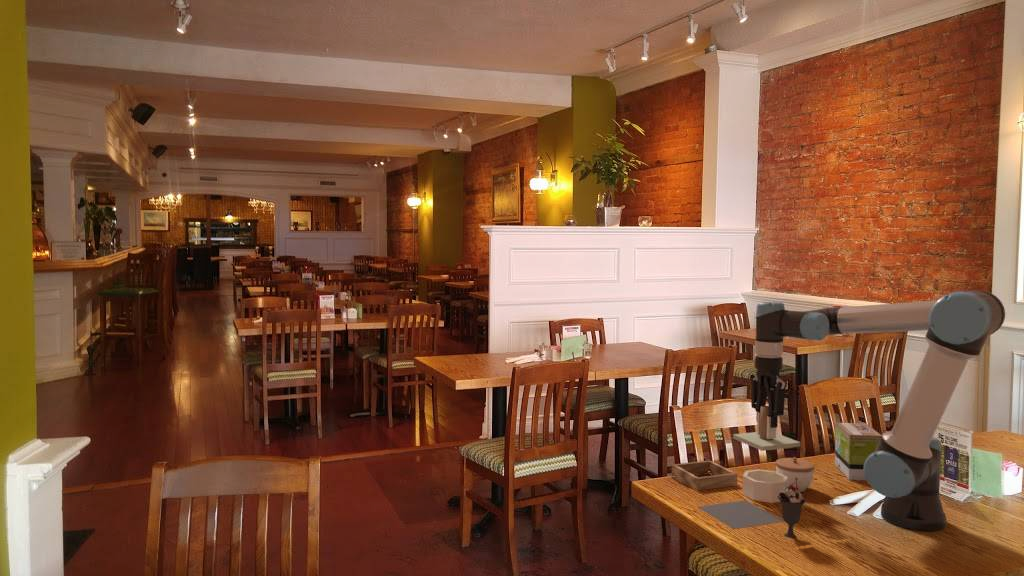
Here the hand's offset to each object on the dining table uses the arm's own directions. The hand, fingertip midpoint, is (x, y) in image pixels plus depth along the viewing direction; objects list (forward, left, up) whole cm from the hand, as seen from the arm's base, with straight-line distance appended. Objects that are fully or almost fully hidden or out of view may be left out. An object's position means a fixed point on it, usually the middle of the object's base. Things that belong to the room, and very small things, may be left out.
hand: (766, 436), depth 207 cm
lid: (0, 0, -2) cm, 2 cm away
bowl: (0, 0, -18) cm, 18 cm away
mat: (-10, +16, -18) cm, 26 cm away
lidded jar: (+3, -13, -18) cm, 22 cm away
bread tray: (+16, +9, -18) cm, 26 cm away
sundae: (-26, +13, -18) cm, 34 cm away
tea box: (+8, -42, -18) cm, 46 cm away
